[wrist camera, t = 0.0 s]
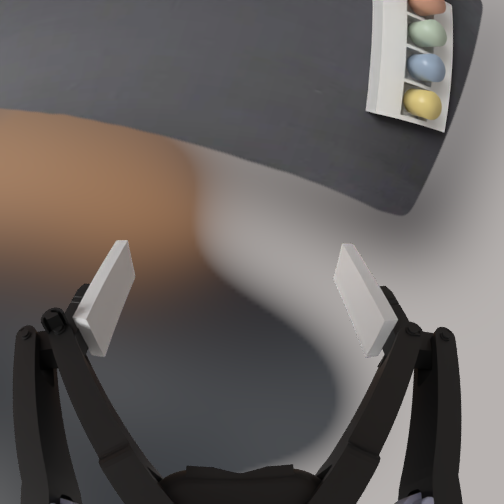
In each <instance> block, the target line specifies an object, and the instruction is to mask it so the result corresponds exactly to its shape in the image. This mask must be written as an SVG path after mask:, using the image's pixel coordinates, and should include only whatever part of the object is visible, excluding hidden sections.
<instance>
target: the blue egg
mask: <svg viewBox="0 0 504 504" xmlns="http://www.w3.org/2000/svg"><path fill="white" fill-rule="evenodd" d="M407 69H408V72H409V74H410V75H411V76H412V77H413V78H414V79H416V80H421V81H430V82H441V81H442V80H443V79H444V77H445V73H446V70H445V65H444V63H443V61H442V60H441V59H440V57H438V56H437V55H435V54H413V55H411V56H409V57H408V59H407Z"/></svg>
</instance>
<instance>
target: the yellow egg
mask: <svg viewBox="0 0 504 504" xmlns="http://www.w3.org/2000/svg"><path fill="white" fill-rule="evenodd" d="M403 103H404V107H405V109H406V110H407V111H408V112H409V113H410V114H412V115H415V116H419V117H422V118H426V119H429V120H435V119H437V118H438V117H439V116H440V114H441V111H442V103H441V100H440V98H439V96H438V95H437V94H436V93H435V92H433V91H428V90H421V89H413V88H412V89H409V90H407V91H406V92H405V94H404V97H403Z"/></svg>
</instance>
